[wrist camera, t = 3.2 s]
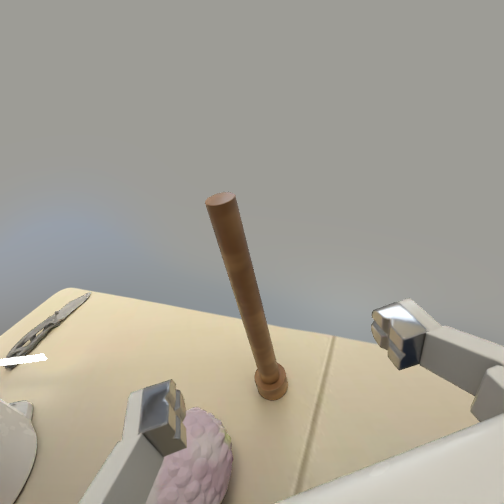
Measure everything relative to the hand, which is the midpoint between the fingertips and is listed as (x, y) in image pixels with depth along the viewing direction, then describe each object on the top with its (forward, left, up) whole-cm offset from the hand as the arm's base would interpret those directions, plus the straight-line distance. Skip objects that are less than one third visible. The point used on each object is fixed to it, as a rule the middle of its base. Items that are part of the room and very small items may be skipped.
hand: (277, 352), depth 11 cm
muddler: (-4, +11, -22) cm, 25 cm away
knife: (-42, +23, -22) cm, 53 cm away
